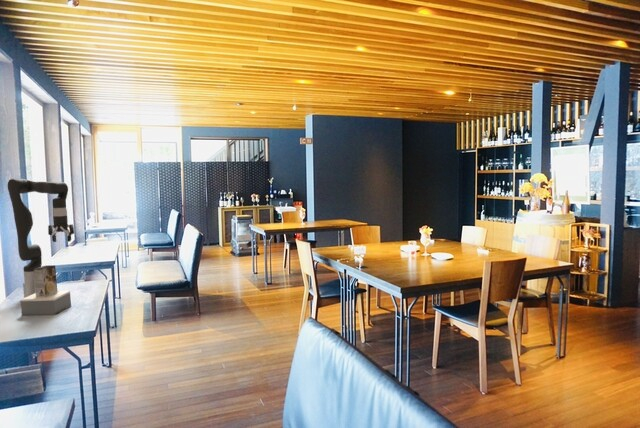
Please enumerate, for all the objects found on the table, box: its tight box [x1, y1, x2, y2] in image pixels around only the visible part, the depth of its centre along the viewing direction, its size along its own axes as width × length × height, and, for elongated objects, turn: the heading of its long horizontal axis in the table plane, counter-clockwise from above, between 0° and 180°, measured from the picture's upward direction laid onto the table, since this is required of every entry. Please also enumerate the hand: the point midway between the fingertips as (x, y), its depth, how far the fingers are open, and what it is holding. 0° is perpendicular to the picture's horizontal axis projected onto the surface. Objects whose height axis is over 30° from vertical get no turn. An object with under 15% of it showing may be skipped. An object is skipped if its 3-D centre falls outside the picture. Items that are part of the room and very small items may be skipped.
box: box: [20, 292, 72, 317], centre depth 247 cm, size 18×16×8 cm
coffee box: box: [33, 265, 58, 297], centre depth 246 cm, size 9×6×16 cm
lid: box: [20, 290, 71, 302], centre depth 247 cm, size 18×16×1 cm
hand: (61, 241), depth 267 cm, fingers open, 8 cm apart
